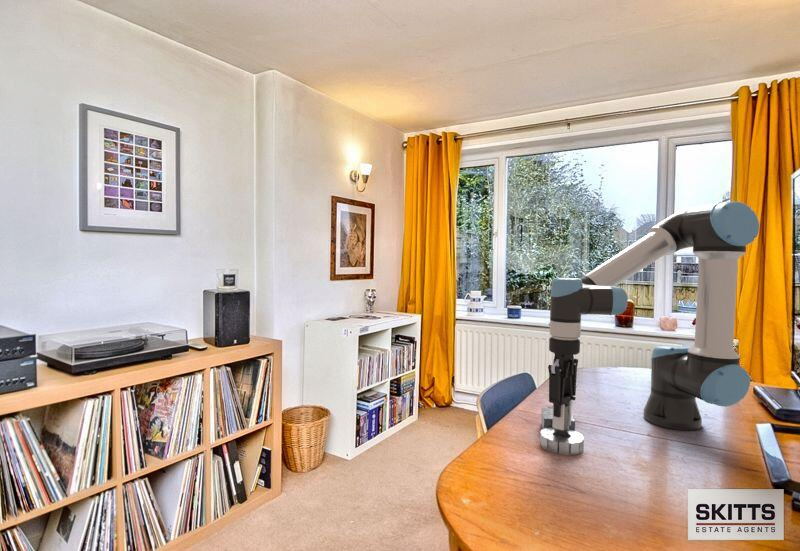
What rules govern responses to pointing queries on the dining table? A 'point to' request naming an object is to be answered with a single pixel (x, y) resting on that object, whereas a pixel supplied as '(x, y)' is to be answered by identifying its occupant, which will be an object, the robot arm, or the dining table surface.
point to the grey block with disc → (558, 443)
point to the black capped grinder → (566, 418)
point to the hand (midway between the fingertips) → (561, 426)
